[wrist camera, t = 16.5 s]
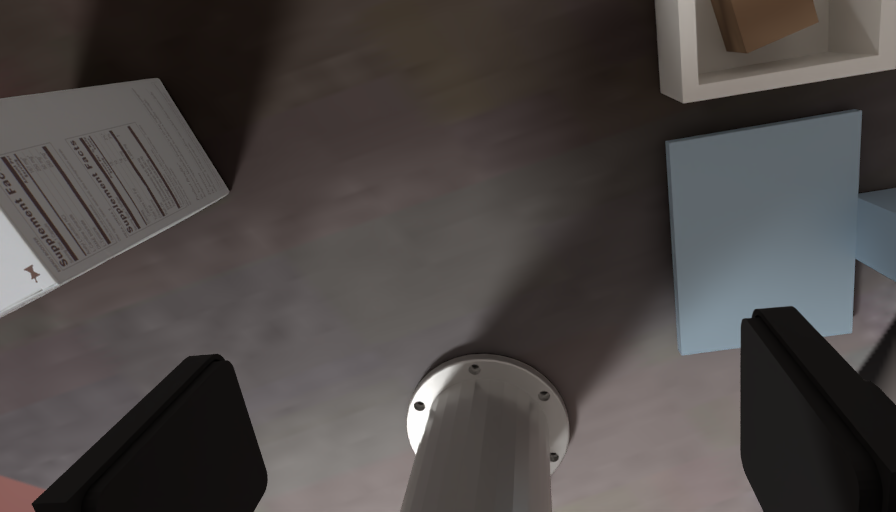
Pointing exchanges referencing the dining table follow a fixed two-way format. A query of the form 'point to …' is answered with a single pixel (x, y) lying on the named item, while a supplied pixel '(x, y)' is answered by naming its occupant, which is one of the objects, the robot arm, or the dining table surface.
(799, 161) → the lid
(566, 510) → the dining table surface
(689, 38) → the tub
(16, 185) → the supplement box
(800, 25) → the part cube
